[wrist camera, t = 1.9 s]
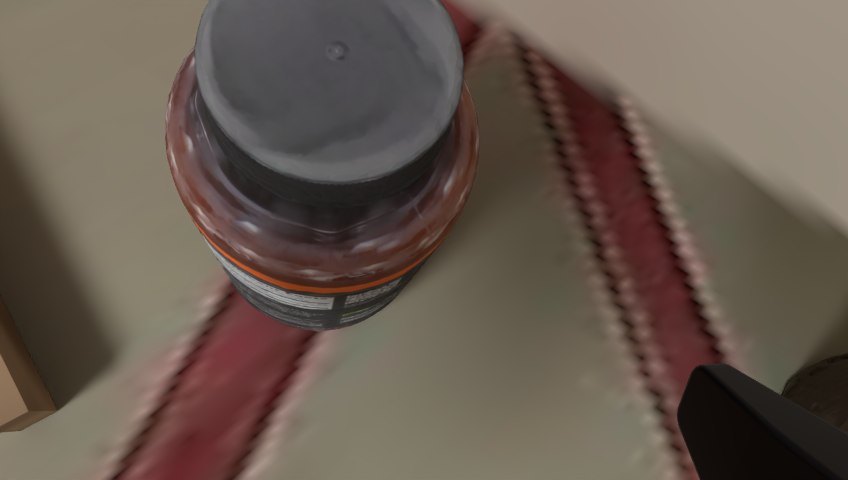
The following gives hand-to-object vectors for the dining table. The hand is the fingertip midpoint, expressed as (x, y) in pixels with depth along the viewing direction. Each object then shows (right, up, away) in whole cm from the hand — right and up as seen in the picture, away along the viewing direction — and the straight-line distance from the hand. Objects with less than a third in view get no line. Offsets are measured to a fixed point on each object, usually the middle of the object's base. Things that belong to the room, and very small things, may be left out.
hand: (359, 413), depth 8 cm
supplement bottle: (-2, +2, +12) cm, 13 cm away
